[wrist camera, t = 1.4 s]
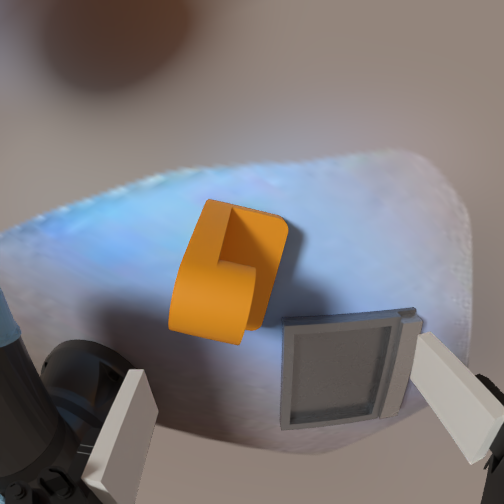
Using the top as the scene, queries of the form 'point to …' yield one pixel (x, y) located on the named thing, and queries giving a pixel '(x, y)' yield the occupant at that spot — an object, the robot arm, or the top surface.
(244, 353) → the top surface
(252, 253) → the bracket
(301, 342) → the tray
